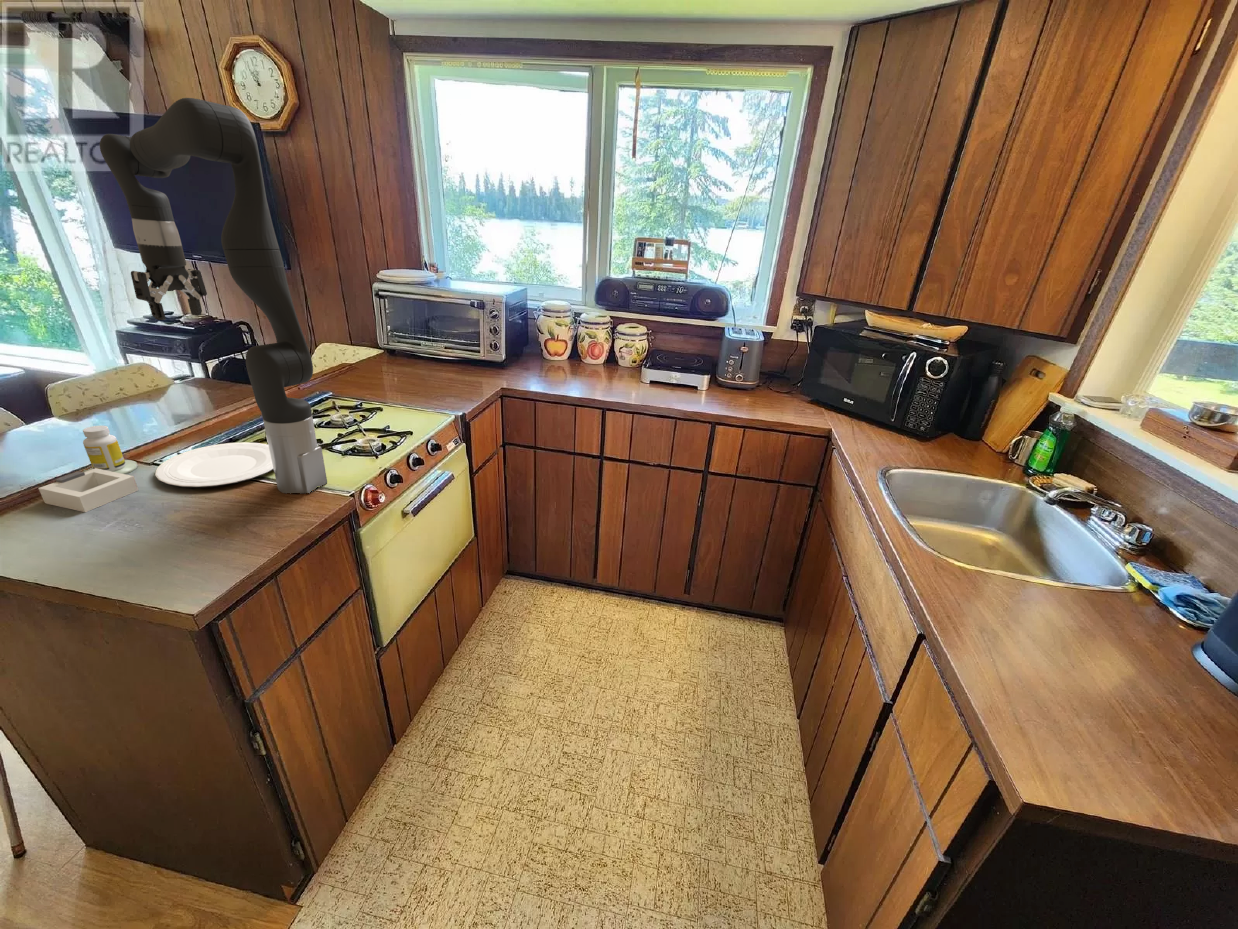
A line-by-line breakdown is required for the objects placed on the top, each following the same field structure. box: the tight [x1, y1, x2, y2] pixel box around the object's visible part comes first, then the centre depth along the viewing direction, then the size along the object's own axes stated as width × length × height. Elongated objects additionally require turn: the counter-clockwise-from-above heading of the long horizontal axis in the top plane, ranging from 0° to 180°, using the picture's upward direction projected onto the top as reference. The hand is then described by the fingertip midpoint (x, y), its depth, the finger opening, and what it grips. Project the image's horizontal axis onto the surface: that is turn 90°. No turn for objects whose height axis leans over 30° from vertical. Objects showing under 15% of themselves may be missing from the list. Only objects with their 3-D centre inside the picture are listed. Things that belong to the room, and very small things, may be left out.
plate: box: [154, 441, 274, 488], centre depth 121 cm, size 25×25×2 cm
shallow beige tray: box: [38, 468, 139, 513], centre depth 104 cm, size 10×10×4 cm
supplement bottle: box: [82, 425, 126, 471], centre depth 112 cm, size 5×5×10 cm
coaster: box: [82, 459, 138, 475], centre depth 115 cm, size 9×9×1 cm
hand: (179, 317), depth 117 cm, fingers open, 8 cm apart
